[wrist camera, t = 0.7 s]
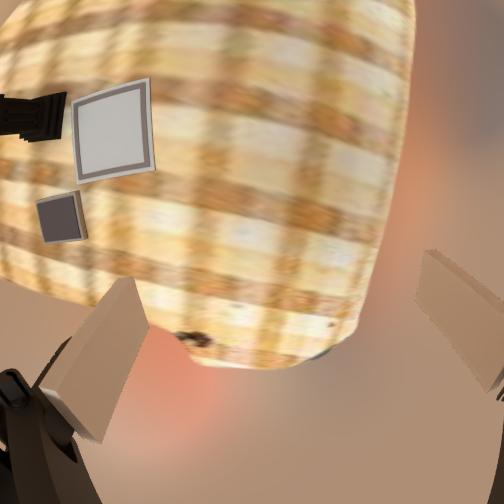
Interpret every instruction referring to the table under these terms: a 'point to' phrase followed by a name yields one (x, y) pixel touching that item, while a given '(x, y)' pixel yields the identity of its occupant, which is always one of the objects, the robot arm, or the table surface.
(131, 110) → the print sheet
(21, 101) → the chess piece
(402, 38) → the table surface
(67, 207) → the ink pad
